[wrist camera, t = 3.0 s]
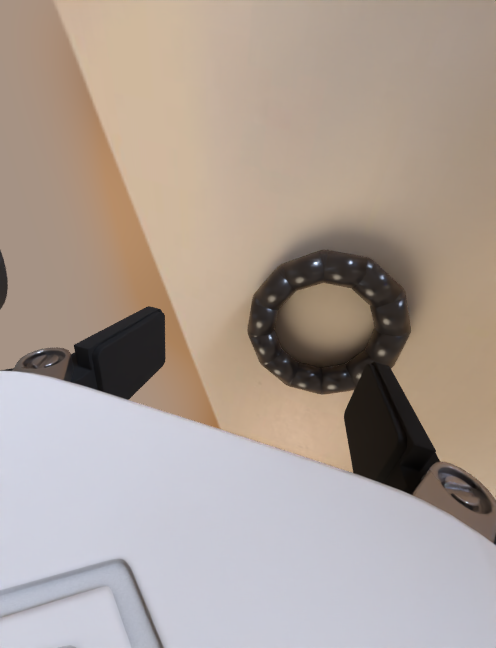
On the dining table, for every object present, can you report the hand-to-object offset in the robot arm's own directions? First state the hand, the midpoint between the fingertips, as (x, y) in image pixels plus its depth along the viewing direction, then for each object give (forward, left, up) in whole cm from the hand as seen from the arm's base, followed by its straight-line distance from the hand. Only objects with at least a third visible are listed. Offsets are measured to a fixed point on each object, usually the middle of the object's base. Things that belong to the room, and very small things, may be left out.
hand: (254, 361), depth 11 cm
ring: (+3, 0, -5) cm, 6 cm away
